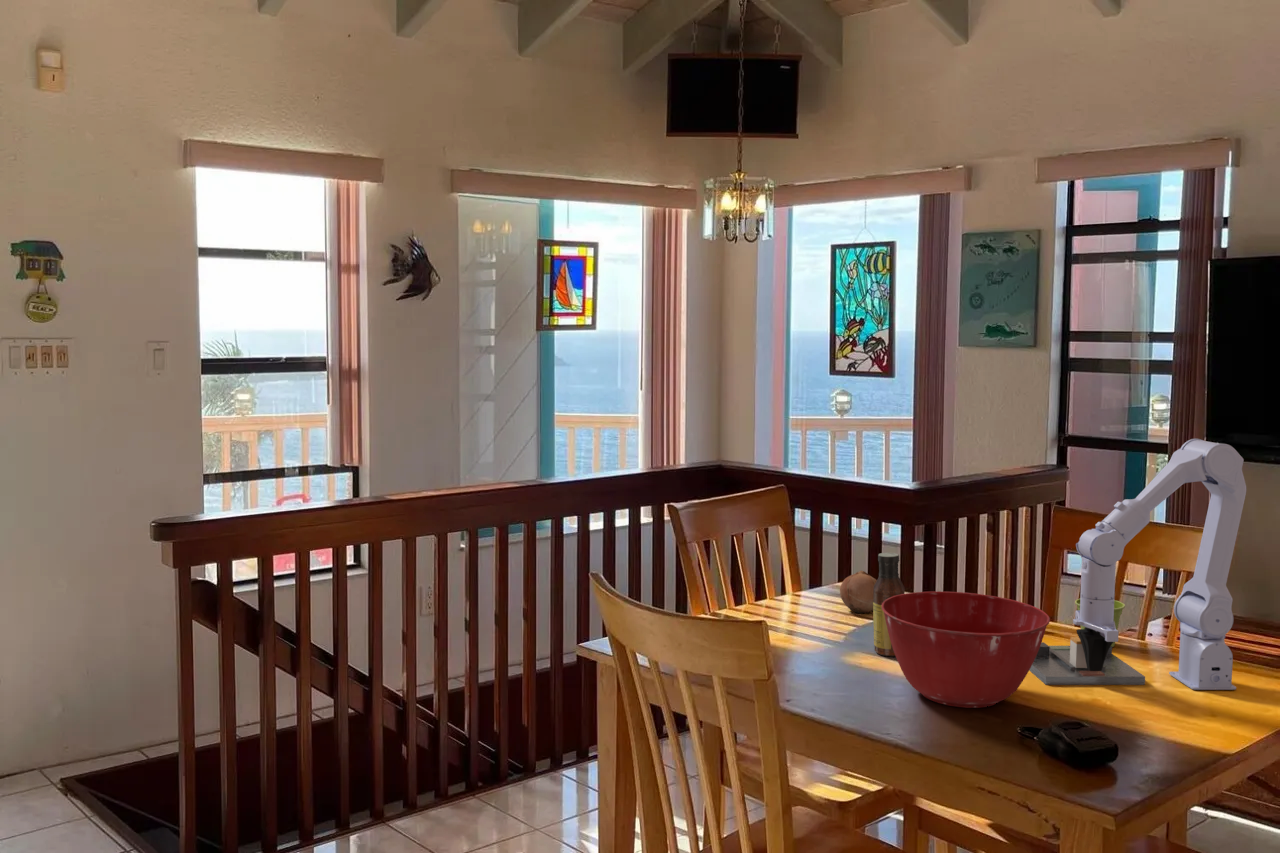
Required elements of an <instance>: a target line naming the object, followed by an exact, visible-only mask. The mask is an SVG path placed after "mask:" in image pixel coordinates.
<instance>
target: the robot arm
mask: <svg viewBox="0 0 1280 853" xmlns="http://www.w3.org/2000/svg"><path fill="white" fill-rule="evenodd" d="M1244 460H1245V459H1244V458H1243V456H1241V455H1240V453H1239V452H1238V451H1237V450H1236V449H1235V448H1234V447H1233V446H1232V445H1230V444H1227V443H1218V442H1212V441H1206V440H1203V439H1200V438H1191V439H1189V440H1186V442H1184V443H1183V444H1182V445H1181V447H1180V448H1178V449H1177V450H1175V451H1173V453H1172V455H1171V457H1170V460H1169V461H1168V463H1166V464H1165V466H1163V468H1162V469H1161V470H1160V471H1159V473H1158V474H1156V475H1155V476H1154V477H1153V479H1152V480H1151V481H1149V483H1148V484H1146V486H1145V487H1144V488H1143V490H1142V491H1140V493H1138V495H1137V496H1136V497H1135V498H1132V499H1131V498H1130V499H1128V498H1127V499H1126V498H1125V499H1123V500H1122V501H1117V502H1116V503H1115V504H1113V507H1114V509H1113V510H1112V511H1111V512H1110V513H1108V515H1107V516H1105V517H1104V519H1102V520H1101V521H1098V522H1097V523H1095V528H1091V529H1087V530H1086V531H1083V533H1082V534H1081V536H1080V537H1079V540H1078V542H1076V543H1075V547H1076V552H1077V553H1078V554H1079V556H1080V558H1081V571H1080V573H1081V574H1080V576H1081V577H1080V593H1079V594H1080V598H1079V599H1080V610H1078V609H1076V610H1075V615H1074V616H1075V618H1073V619H1072V623H1073V624H1074V625H1075V626H1080V625H1081V626H1084V627H1086V628H1084V629H1081V628H1080V629H1079V628H1078V629H1076V635H1077V637H1079V638H1080V641H1081V643H1082V646H1083V650H1084V655H1085V660H1086V665H1087V669H1088V670H1090V671H1101V670H1102V668H1103V664H1104V661H1105V658H1106V655H1107V652H1108V650H1109V648H1110V646H1111V645H1112V643H1113V642H1115V643H1117V642H1119V630H1118V629H1117V630H1116V627H1115V622H1114V621H1113V619H1114V600H1115V592H1116V591H1115V590H1116V589H1115V588H1116V568H1117V567H1116V565H1117V562H1118V561H1120V560H1121V559H1122V557H1123V555H1124V552H1125V551H1124V549H1125V547H1126V545H1127V544H1129V542H1130V541H1131V540H1133V539H1134V537H1135V536H1136V535H1138V534H1139V533H1140V532H1141V531H1142V530H1143V529H1144V528H1145V527H1146V526H1147V525H1148V524H1149V523H1150V522H1151V521H1150V520H1151V512H1152V511H1153V510H1154V509H1155V508H1157V507H1158V506H1159V505H1160V504H1162V502H1164V501H1165V500H1167V498H1169V496H1171V495H1173V493H1174V492H1176V490H1178V489H1179V488H1180V487H1181V486H1182V485H1184V484H1187V483H1194V482H1195V483H1196V482H1201V483H1202V484H1203V485H1204V487H1205V488H1206V490H1208V492H1209V493H1210V500H1209V504H1208V507H1207V513H1206V516H1205V522H1204V526H1203V530H1202V531H1203V532H1202V535H1201V540H1200V544H1199V548H1198V553H1197V554H1198V555H1197V558H1196V563H1195V568H1194V573H1193V577H1192V578H1190V580H1188V581H1187V582H1185V583H1184V585H1183V587H1182V591H1181V594H1179V596H1178V597H1177V599H1176V601H1175V602H1174V605H1173V612H1174V613H1173V614H1174V617H1175V618H1176V620H1178V621H1179V629H1180V635H1179V654H1178V655H1179V656H1178V657H1179V658H1178V671H1168V675H1170V676H1172V677H1173V678H1174V679H1176V680H1178V682H1181V683H1182V684H1183V685H1185V686H1186V687H1188V688H1189V689H1192V690H1197V691H1199V690H1200V691H1202V690H1203V691H1204V690H1205V691H1207V690H1212V691H1213V690H1214V691H1215V690H1216V691H1217V690H1218V691H1220V690H1223V691H1225V690H1227V691H1228V690H1229V691H1231V690H1232V691H1233V690H1235V691H1236V690H1237V686H1235V684H1232V682H1233V681H1232V680H1233V679H1232V678H1233V664H1234V663H1233V662H1234V661H1233V658H1234V656H1233V655H1234V654H1233V652H1232V651H1231V649H1230V647H1229V646H1228V645H1227V644H1226V642H1225V639H1226V634H1227V633H1229V632H1230V631H1231V629H1232V628H1233V625H1234V614H1233V611H1232V610H1233V609H1232V607H1233V606H1232V605H1233V601H1234V600H1233V599H1234V598H1233V597H1232V595H1231V593H1230V590H1229V589H1228V587H1227V582H1228V577H1229V572H1230V569H1231V564H1232V560H1233V554H1234V550H1235V544H1236V541H1237V537H1238V531H1239V527H1240V523H1241V517H1242V514H1243V509H1244V505H1245V504H1244V503H1245V499H1246V494H1247V484H1246V480H1245V476H1244V473H1243V464H1244ZM1081 626H1080V627H1081Z"/></svg>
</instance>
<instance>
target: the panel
mask: <svg viewBox="0 0 1280 853" xmlns="http://www.w3.org/2000/svg"><path fill="white" fill-rule="evenodd" d="M1029 671H1030V673H1031V674H1033V675H1034V676H1035V677H1036V678H1038V679H1039V680H1040V681H1041V682H1042V683H1043V684H1044V685H1046V686H1049V685H1050V686H1051V685H1053V686H1061V685H1062V686H1063V685H1065V686H1070V685H1071V686H1076V685H1077V686H1078V685H1080V686H1081V685H1082V686H1086V685H1087V686H1094V685H1095V686H1097V685H1099V686H1101V685H1103V686H1104V685H1105V686H1108V685H1109V686H1111V685H1113V686H1114V685H1115V686H1121V685H1122V686H1123V685H1125V686H1129V685H1131V686H1132V685H1134V686H1136V685H1137V686H1139V685H1140V686H1142V685H1143V686H1144V685H1146V676H1145V675H1143V674H1142V673H1141V672H1139V671H1138V670H1136V669H1135V668H1134V667H1132V666H1131V665H1130V664H1128V663H1126V662H1125V661H1123V660H1122V659H1121V658H1119V657H1118V656H1117V655H1114V653H1113V647H1112V646H1110V648H1109V650H1108V652H1107V655H1106V658H1105V661H1104V664H1103V668H1102V670H1101V671H1090V670H1088V669H1087V668H1075V667H1074V666H1073V665H1072V664H1071V663H1070V645H1048V644H1047V643H1046V642H1045V641H1042V642H1041V645H1040V648H1039V650H1038V653H1037V655H1036V658H1035V660H1034V662H1033V664H1032V666H1031V668H1030V670H1029Z"/></svg>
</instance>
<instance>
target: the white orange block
mask: <svg viewBox="0 0 1280 853" xmlns="http://www.w3.org/2000/svg"><path fill="white" fill-rule="evenodd" d="M1069 646H1070V663H1071V664H1072V665H1073V666H1074V667H1075V668H1087V665H1086V660H1085V655H1084V650H1083V646H1082V643H1081V641H1080V638H1079V636H1070V645H1069Z"/></svg>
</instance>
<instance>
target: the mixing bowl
mask: <svg viewBox="0 0 1280 853" xmlns="http://www.w3.org/2000/svg"><path fill="white" fill-rule="evenodd" d="M881 607H882V610H883V612H884V616H885V620H886V625H887V629H888V634H889V637H890V641H891V644H892V647H893V650H894V653H895V656H894V657H895V658H896V660H897V663H898V665H899V667H900V669H901V672H902V674H903V675H904V677H905V679H906V680H907V681H908V683H909V684H910V685H911V687H912V688H914V690H915V691H917V692H919V693H920V694H921V695H922V696H923V697H924V698H926V699H928V700H930V701H933V702H935V703H938V704H941V705H945V706H950V707H957V708H966V709H967V708H969V709H971V708H972V709H973V708H974V709H978V708H987V706H988V707H991V706H994V705H996V703H997V704H998V703H999V702H1002V701H1003V700H1006V699H1008V698H1009V697H1011V696H1012V695H1013V694H1014V693H1015V692H1017V690H1018V689H1019V687H1020V686H1021V684H1022V683H1023V682H1024V680H1025V678H1027V674H1028V673H1029V671H1030V668H1031V666H1032V664H1033V662H1034V660H1035V658H1036V655H1037V653H1038V650H1039V648H1040V645H1041V642H1043V639H1044V637H1045V636H1044V635H1045V633H1046V630H1047V626H1048V625H1049V624H1050V621H1051V618H1050V616H1049V615H1048V614H1047V613H1046V612H1045V611H1044V610H1042V609H1040V608H1038V607H1035V606H1033V605H1031V604H1029V603H1025V602H1021V601H1019V600H1018V601H1017V600H1015V599H1010V598H1006V597H999V596H996V595H989V594H983V593H982V594H981V593H980V594H979V593H973V592H964V591H963V592H960V591H920V592H919V591H918V592H909V593H908V592H906V593H905V594H901V595H896V596H893V597H890V598H888V599H886V600H885V601H884V602H883V603H882V606H881Z"/></svg>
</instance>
